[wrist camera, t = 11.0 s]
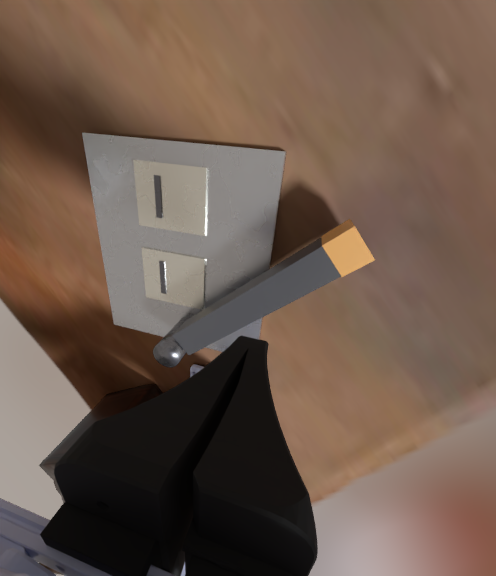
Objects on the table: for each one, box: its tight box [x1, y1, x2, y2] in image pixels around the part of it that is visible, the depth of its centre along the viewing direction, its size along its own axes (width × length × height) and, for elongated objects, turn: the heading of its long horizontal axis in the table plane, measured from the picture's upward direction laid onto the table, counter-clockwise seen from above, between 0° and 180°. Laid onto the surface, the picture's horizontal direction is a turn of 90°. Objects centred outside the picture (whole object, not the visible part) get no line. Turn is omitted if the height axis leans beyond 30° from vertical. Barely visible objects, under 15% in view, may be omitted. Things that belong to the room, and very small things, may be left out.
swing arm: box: [172, 219, 375, 355], centre depth 18 cm, size 16×2×2 cm, turn 127°
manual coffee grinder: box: [39, 384, 163, 575], centre depth 27 cm, size 16×11×18 cm
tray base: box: [82, 133, 286, 367], centre depth 20 cm, size 18×16×5 cm
